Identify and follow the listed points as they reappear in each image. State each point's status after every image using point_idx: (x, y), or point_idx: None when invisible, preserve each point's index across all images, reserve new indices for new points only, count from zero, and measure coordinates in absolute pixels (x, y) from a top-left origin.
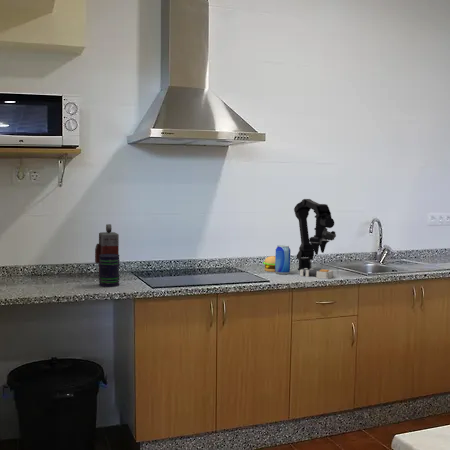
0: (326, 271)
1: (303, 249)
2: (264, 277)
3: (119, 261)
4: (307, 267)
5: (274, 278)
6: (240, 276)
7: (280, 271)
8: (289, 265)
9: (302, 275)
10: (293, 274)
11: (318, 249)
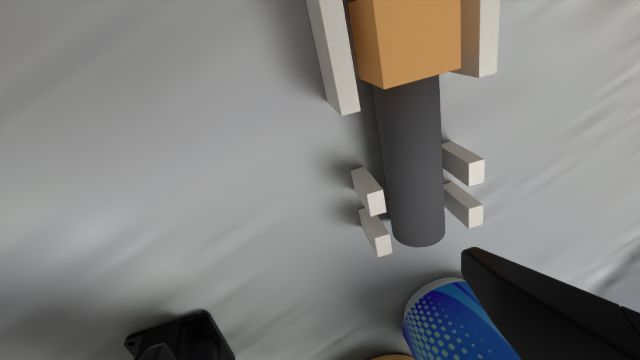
0: None
1: None
2: (604, 269)
3: None
4: (188, 340)
5: (615, 224)
6: None
7: None
8: (472, 321)
9: (455, 185)
10: (423, 257)
11: (571, 308)
